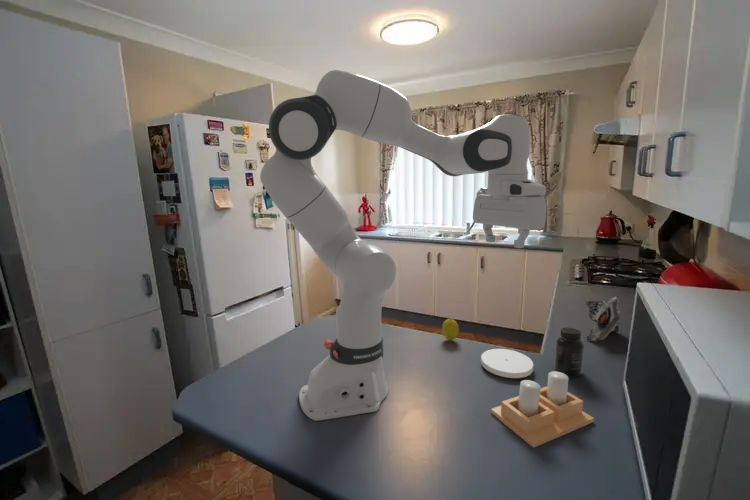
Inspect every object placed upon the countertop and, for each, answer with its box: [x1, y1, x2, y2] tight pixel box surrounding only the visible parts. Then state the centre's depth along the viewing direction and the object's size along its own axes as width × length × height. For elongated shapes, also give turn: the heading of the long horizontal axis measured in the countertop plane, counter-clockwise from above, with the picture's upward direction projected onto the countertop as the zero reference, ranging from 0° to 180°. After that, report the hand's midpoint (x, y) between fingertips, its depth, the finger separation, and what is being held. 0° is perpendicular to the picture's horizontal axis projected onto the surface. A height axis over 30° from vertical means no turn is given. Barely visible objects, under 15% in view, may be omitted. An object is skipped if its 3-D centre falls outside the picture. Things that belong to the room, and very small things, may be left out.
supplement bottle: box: [553, 327, 585, 378], centre depth 96 cm, size 7×7×12 cm
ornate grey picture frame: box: [585, 295, 621, 341], centre depth 118 cm, size 15×4×13 cm, turn 120°
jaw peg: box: [518, 379, 542, 418], centre depth 75 cm, size 4×4×8 cm
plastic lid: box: [480, 348, 534, 379], centre depth 99 cm, size 14×14×2 cm
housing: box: [490, 370, 595, 449], centre depth 77 cm, size 18×12×9 cm, turn 114°
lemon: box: [441, 317, 460, 342], centre depth 116 cm, size 6×6×8 cm
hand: (503, 244), depth 85 cm, fingers open, 8 cm apart
